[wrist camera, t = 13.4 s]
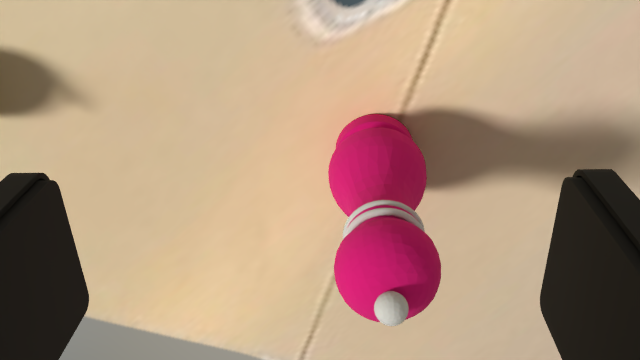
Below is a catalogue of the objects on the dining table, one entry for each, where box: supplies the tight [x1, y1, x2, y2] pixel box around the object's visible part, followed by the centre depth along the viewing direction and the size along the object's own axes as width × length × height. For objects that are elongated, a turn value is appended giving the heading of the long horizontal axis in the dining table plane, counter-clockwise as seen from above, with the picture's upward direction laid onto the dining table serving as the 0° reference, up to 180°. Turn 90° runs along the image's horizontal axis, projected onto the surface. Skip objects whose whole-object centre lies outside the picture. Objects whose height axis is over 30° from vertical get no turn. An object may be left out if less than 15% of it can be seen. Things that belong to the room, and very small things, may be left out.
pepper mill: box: [328, 114, 441, 326], centre depth 38 cm, size 7×7×20 cm
